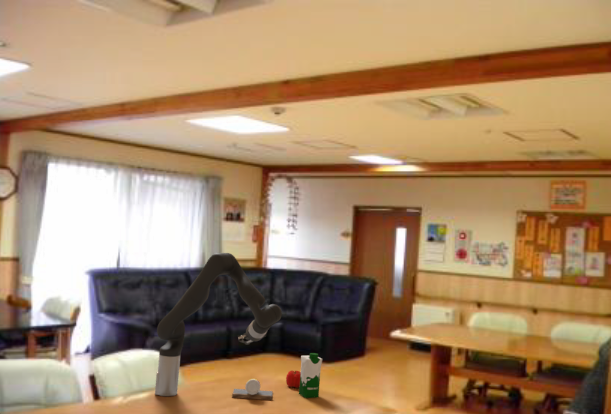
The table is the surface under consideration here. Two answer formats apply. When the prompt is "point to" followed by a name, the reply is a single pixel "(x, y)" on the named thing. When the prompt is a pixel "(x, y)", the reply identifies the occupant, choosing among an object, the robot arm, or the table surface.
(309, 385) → the milk carton
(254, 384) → the supplement bottle
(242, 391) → the mat
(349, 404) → the table surface
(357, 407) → the table surface
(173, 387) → the robot arm
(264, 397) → the rail
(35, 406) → the table surface
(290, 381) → the tomato
